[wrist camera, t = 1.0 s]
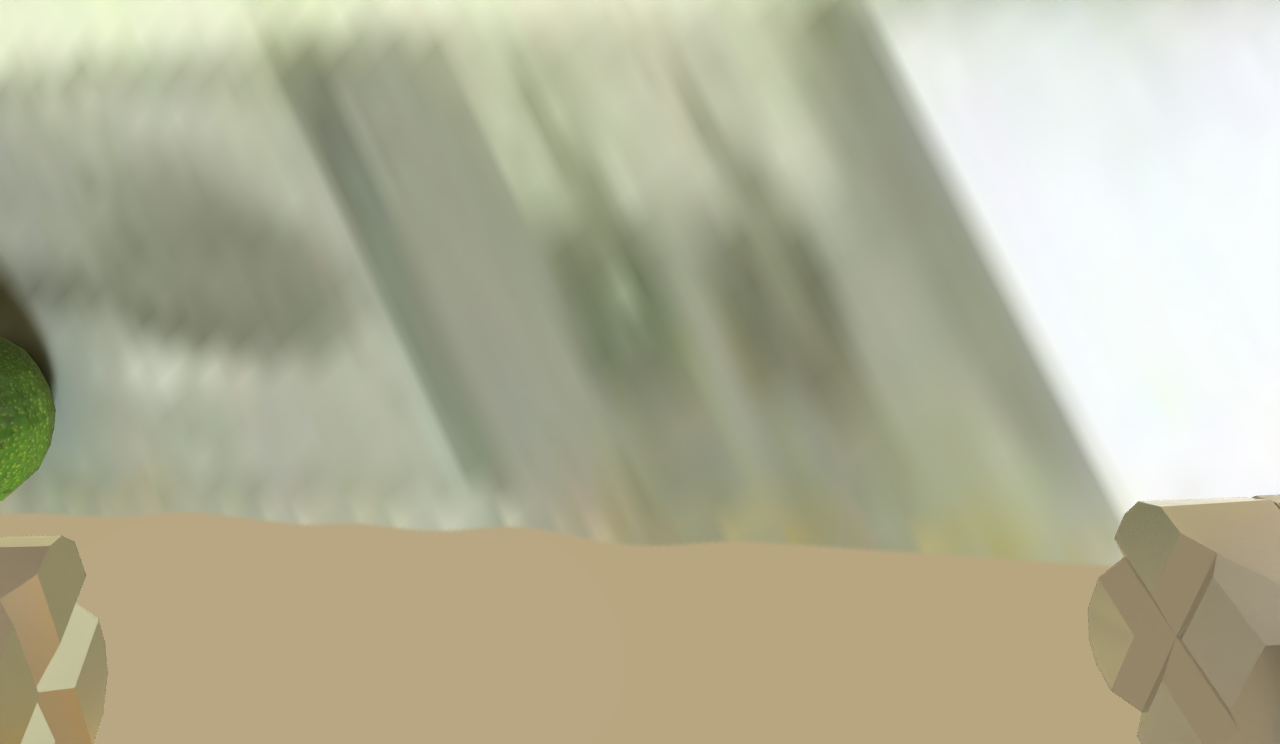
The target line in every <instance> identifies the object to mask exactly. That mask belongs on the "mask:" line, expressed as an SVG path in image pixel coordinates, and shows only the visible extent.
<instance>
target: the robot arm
mask: <svg viewBox="0 0 1280 744" xmlns="http://www.w3.org/2000/svg"><path fill="white" fill-rule="evenodd" d="M1115 540H1116V542H1117V544H1118V546H1119V548H1120V550H1121V552H1122V554H1123V556H1124V558H1122V559H1121V560H1120V561H1119V562H1117V563H1116V564H1115V565H1114V566H1113V567H1111V568H1110V569H1109V570H1108V571H1107V572H1105V573H1104V574H1103V575H1102V576H1100V577H1099V578H1098V581H1097V584H1096V587H1095V589H1094V592H1093V595H1092V598H1091V601H1090V604H1089V607H1088V619H1089V620H1088V622H1089V641H1090V645H1091V648H1092V651H1093V655H1094V658H1095V661H1096V664H1097V666H1098V668H1099V670H1100V672H1101V674H1102V676H1103V677H1104V679H1105V681H1106V683H1107V685H1108V686H1109V688H1110V690H1111V691H1112V692H1114V693H1115V694H1117V695H1118V696H1119V697H1121V698H1122V699H1124V700H1125V701H1127V702H1128V703H1129V704H1131V705H1133V706H1134V707H1135V708H1137V709H1138V710H1139V711H1141V717H1140V722H1139V727H1138V732H1137V737H1138V739H1139V740H1140V742H1141V744H1280V495H1264V496H1255V497H1252V498H1247V497H1237V498H1212V499H1187V500H1162V501H1138V502H1137V503H1136V504H1135V505H1134V506H1133V507H1132V508H1131V509H1130V510H1129V511H1128V512H1127V513H1126V514H1125V515H1124V517H1123V519H1122V521H1121V524H1120V526H1119V529H1118V531H1117V533H1116V536H1115ZM85 577H86V573H85V570H84V567H83V565H82V562H81V559H80V556H79V553H78V550H77V547H76V544H75V542H74V541H72V540H70V539H68V538H66V537H63V536H0V744H94V742H95V738H96V735H97V732H98V729H99V725H100V722H101V719H102V715H103V711H104V703H105V694H106V685H107V676H108V668H107V657H106V646H105V640H104V637H103V633H102V629H101V625H100V622H99V619H98V618H96V617H95V616H94V615H92V614H91V613H90V612H88V611H87V610H85V609H84V608H83V607H81V606H80V605H79V604H77V603H76V601H77V598H78V596H79V593H80V590H81V588H82V585H83V583H84V579H85Z"/></svg>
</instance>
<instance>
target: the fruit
mask: <svg viewBox="0 0 1280 744" xmlns="http://www.w3.org/2000/svg"><path fill="white" fill-rule="evenodd" d="M55 411H56V409H55V405H54V401H53V398H52V394H51V390H50V387H49V385H48V383H47V381H46V380H45V378H44V376H43V374H42V372H41V370H40V368H39V367H38V365H37V364H36V363H35V362H34V360H33V359H32V358H31V357H30V355H29V354H28V353H27V352H26V351H25V350H24V349H22V348H21V347H19V346H17V345H16V344H14V343H12V342H11V341H9V340H7V339H5V338H3V337H0V501H2V500H3V499H5V498H6V497H7V496H8V495H9V494H11V493H12V492H13V491H14V490H15V489H17V488H18V487H19V486H20V485H21V484H22V483H23V482H24V481H26V480H27V479H28V478H29V477H30V476H31V475H32V474H33V473H34V472H36V471H37V470H38V469H39V467H40V465H41V463H42V461H43V459H44V457H45V455H46V453H47V450H48V448H49V447H50V444H51V439H52V434H53V430H54V422H55Z"/></svg>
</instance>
